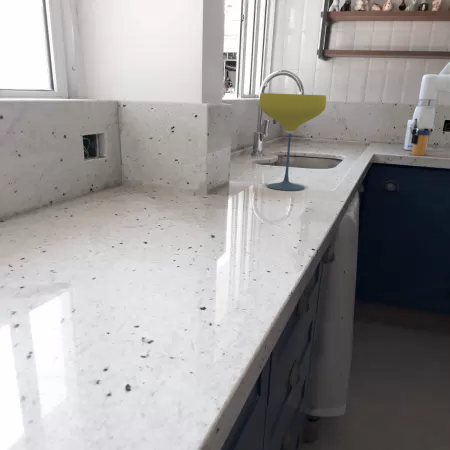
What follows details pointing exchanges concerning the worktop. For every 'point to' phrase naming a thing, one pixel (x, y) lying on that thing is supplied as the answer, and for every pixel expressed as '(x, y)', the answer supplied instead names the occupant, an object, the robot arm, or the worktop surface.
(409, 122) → the supplement tub
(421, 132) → the jar lid
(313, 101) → the cocktail glass
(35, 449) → the worktop surface
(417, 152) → the honey jar
